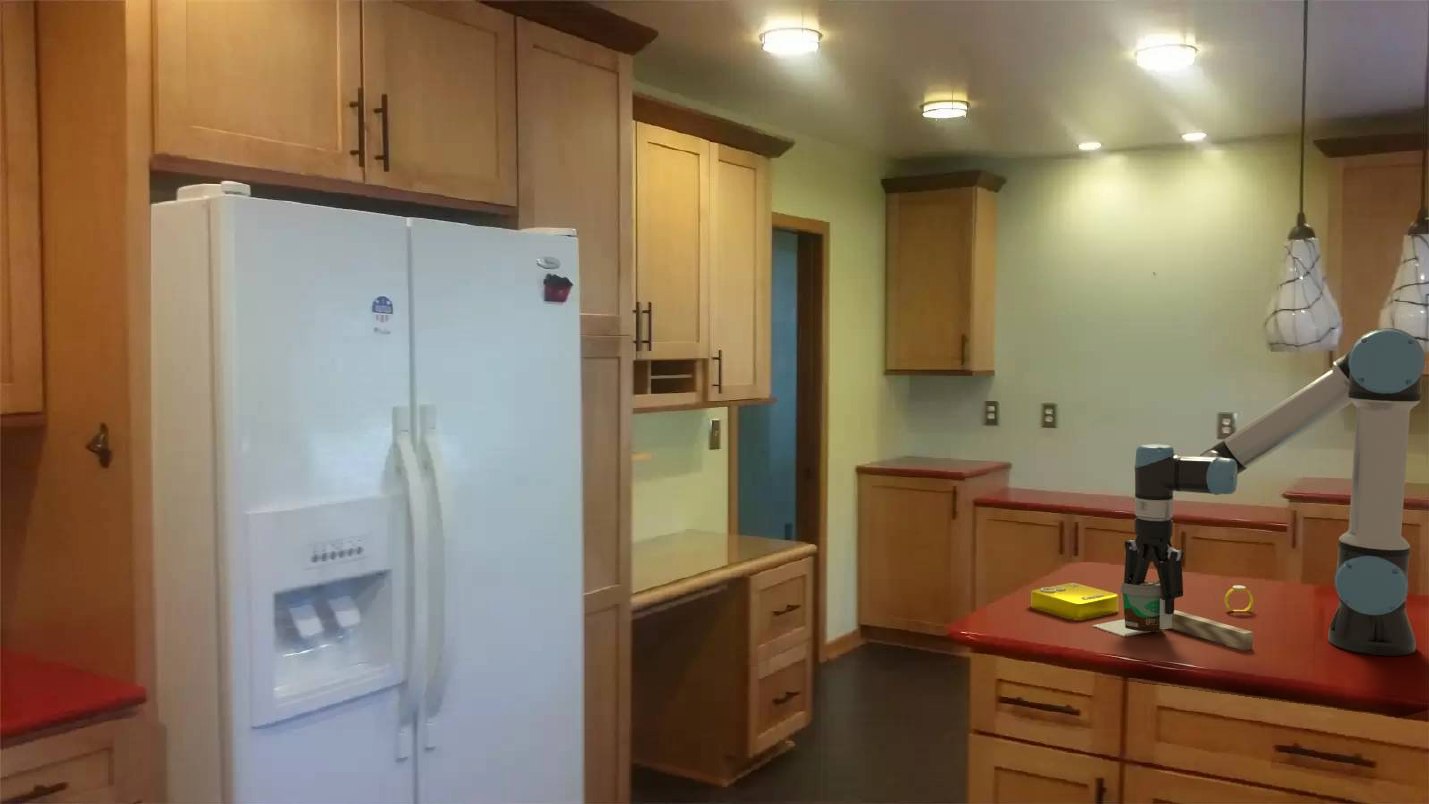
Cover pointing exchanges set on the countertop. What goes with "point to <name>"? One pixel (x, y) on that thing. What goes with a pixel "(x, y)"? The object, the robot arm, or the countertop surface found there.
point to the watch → (1239, 588)
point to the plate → (1118, 628)
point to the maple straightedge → (1212, 630)
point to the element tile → (1074, 601)
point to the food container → (1142, 606)
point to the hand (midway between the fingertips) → (1152, 624)
